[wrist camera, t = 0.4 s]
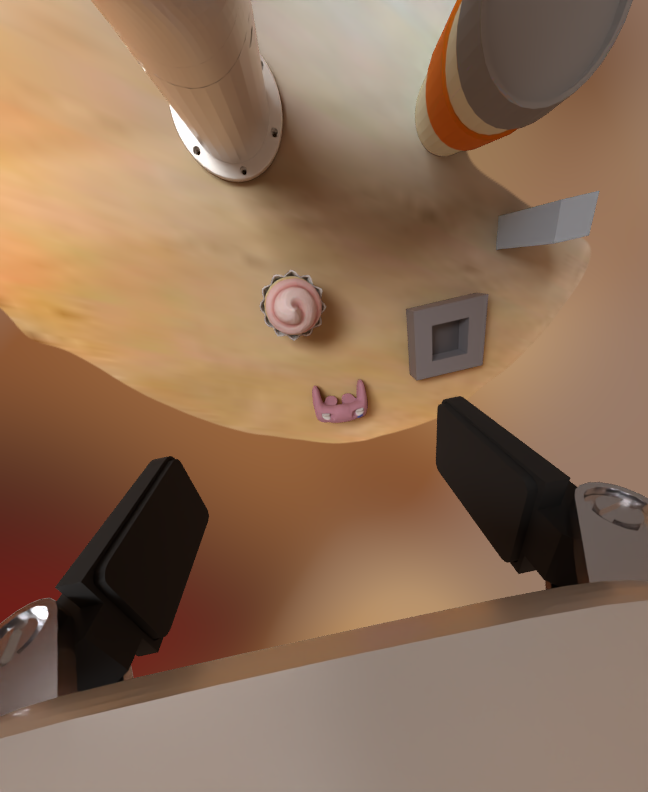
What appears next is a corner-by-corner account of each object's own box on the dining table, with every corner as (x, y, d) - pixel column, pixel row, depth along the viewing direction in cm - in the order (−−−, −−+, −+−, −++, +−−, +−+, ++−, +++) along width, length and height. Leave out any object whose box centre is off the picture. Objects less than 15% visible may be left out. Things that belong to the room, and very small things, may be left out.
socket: (406, 309, 42) (413, 311, 40) (476, 292, 42) (488, 294, 40) (409, 374, 48) (416, 380, 45) (471, 359, 48) (482, 364, 45)
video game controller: (312, 398, 50) (316, 429, 46) (310, 383, 46) (314, 416, 42) (362, 391, 50) (370, 421, 46) (363, 376, 47) (373, 407, 42)
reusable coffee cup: (503, 145, 34) (637, 64, 21) (415, 192, 36) (488, 144, 22) (491, 8, 29) (663, -221, 15) (387, 69, 30) (463, -92, 17)
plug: (498, 216, 38) (561, 199, 29) (527, 209, 38) (599, 190, 29) (495, 249, 40) (553, 243, 31) (523, 243, 40) (589, 235, 31)
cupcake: (333, 314, 42) (343, 326, 33) (284, 342, 43) (281, 361, 34) (303, 257, 38) (306, 253, 29) (251, 290, 39) (238, 296, 30)
